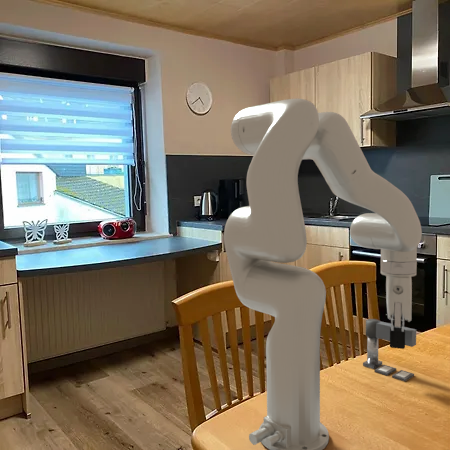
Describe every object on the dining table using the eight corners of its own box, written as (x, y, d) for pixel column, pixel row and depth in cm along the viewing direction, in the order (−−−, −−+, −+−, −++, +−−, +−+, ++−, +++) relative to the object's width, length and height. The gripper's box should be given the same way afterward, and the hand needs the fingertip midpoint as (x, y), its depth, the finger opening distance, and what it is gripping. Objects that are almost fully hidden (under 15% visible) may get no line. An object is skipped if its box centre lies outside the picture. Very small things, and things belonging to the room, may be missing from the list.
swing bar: (410, 347, 107) (410, 332, 107) (363, 335, 116) (363, 321, 116) (417, 343, 109) (417, 328, 109) (370, 332, 118) (370, 318, 118)
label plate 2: (405, 381, 107) (405, 379, 107) (392, 377, 109) (392, 374, 109) (414, 375, 110) (414, 373, 110) (401, 371, 112) (401, 369, 112)
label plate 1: (386, 375, 110) (386, 373, 110) (374, 371, 113) (374, 369, 113) (396, 370, 113) (396, 367, 113) (384, 366, 116) (384, 364, 116)
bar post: (373, 369, 114) (374, 340, 113) (362, 365, 116) (363, 337, 116) (382, 364, 117) (382, 336, 116) (371, 361, 119) (371, 333, 118)
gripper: (417, 275, 96) (416, 361, 98) (415, 262, 110) (414, 337, 112) (379, 273, 99) (378, 357, 101) (381, 260, 113) (381, 334, 114)
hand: (397, 346), depth 106 cm, fingers closed
